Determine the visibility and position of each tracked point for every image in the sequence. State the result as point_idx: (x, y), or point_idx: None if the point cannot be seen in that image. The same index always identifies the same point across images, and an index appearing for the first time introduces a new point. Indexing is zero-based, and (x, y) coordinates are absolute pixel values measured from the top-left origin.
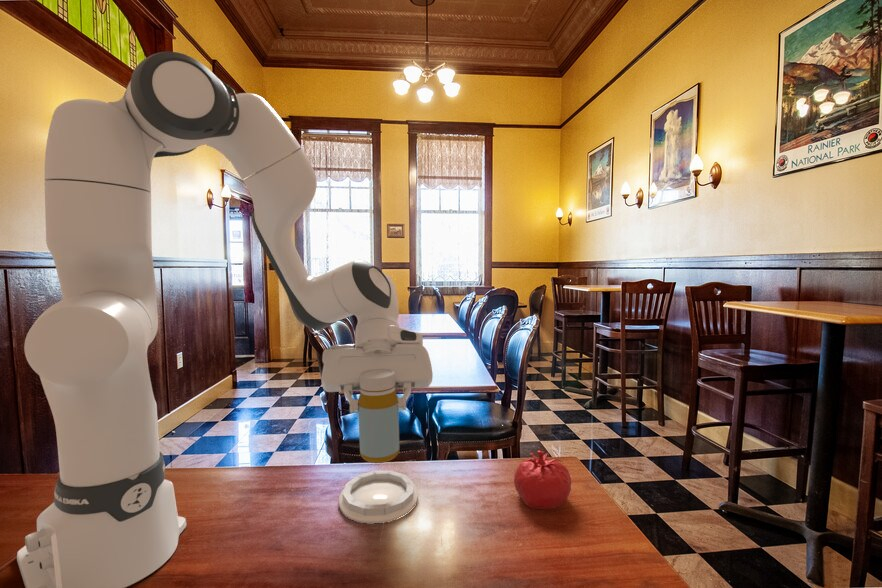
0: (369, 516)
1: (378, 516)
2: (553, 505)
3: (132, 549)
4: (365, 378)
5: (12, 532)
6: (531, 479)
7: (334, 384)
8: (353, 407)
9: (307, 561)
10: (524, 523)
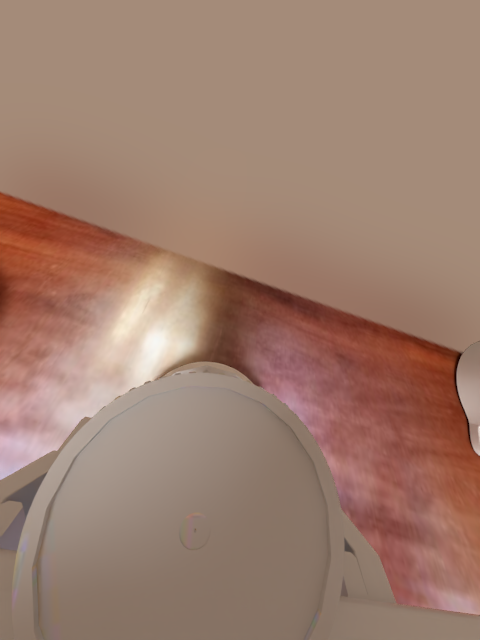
0: (229, 371)
1: (216, 366)
2: None
3: None
4: (301, 422)
5: None
6: None
7: (463, 613)
8: None
9: (306, 324)
10: (15, 297)
